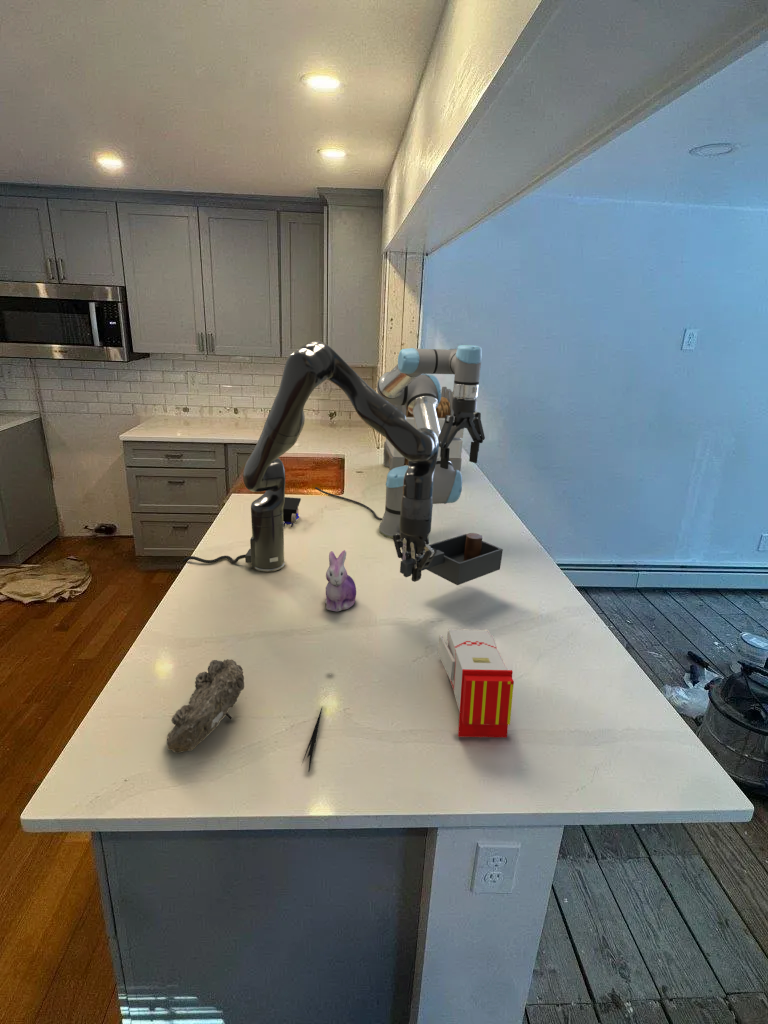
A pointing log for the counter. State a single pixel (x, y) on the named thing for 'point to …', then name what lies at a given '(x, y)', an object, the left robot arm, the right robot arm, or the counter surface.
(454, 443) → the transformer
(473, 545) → the walnut peg
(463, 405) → the right robot arm
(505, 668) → the toy
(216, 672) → the fossil
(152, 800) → the counter surface
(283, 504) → the left robot arm
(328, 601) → the figurine
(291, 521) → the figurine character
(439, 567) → the bin
